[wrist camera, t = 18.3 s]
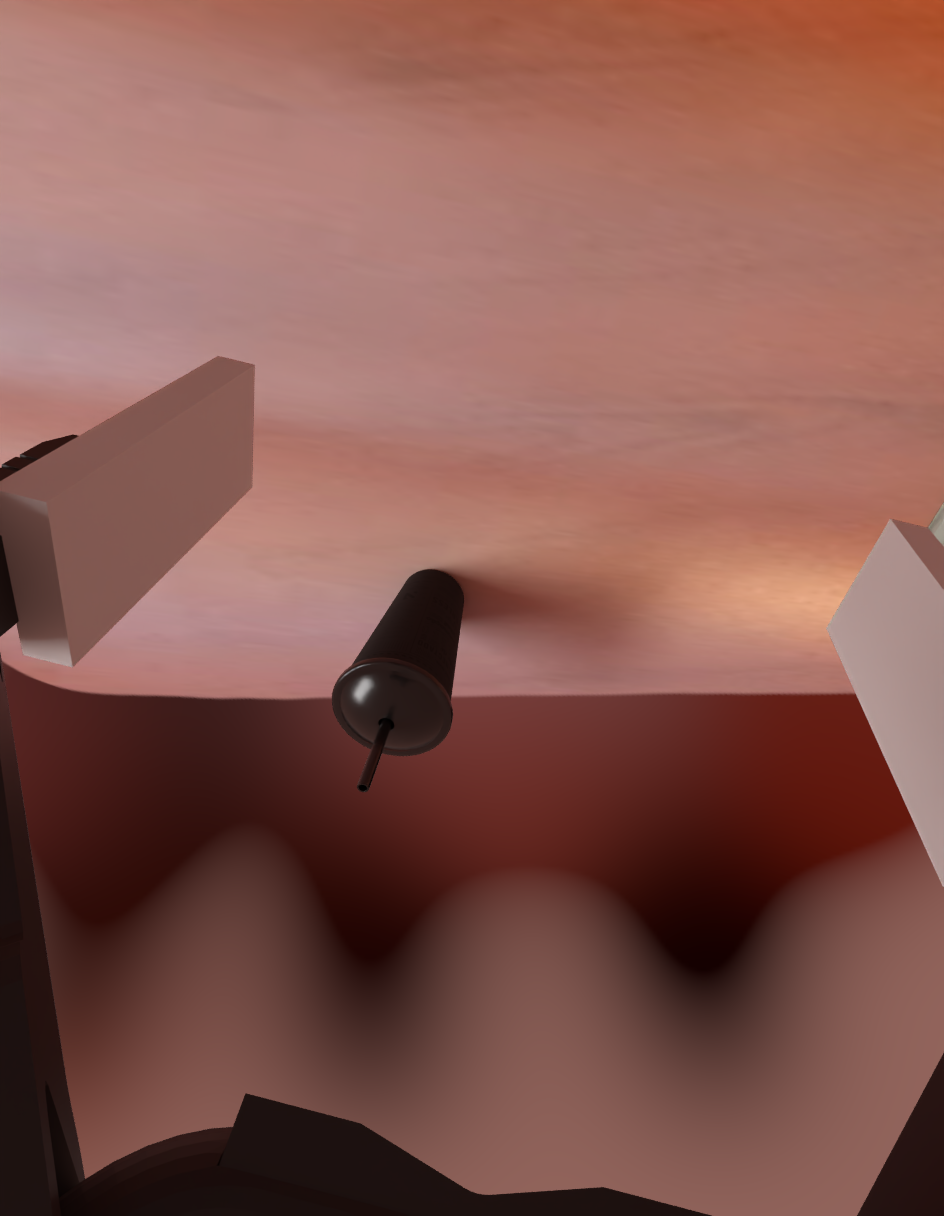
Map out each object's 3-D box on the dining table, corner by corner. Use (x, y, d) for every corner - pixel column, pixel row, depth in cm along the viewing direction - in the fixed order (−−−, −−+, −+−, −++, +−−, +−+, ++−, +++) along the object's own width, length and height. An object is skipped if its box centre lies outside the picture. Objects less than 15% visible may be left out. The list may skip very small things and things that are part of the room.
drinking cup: (496, 574, 54) (449, 767, 38) (463, 649, 59) (408, 851, 42) (401, 537, 54) (311, 716, 37) (374, 615, 58) (283, 806, 42)
